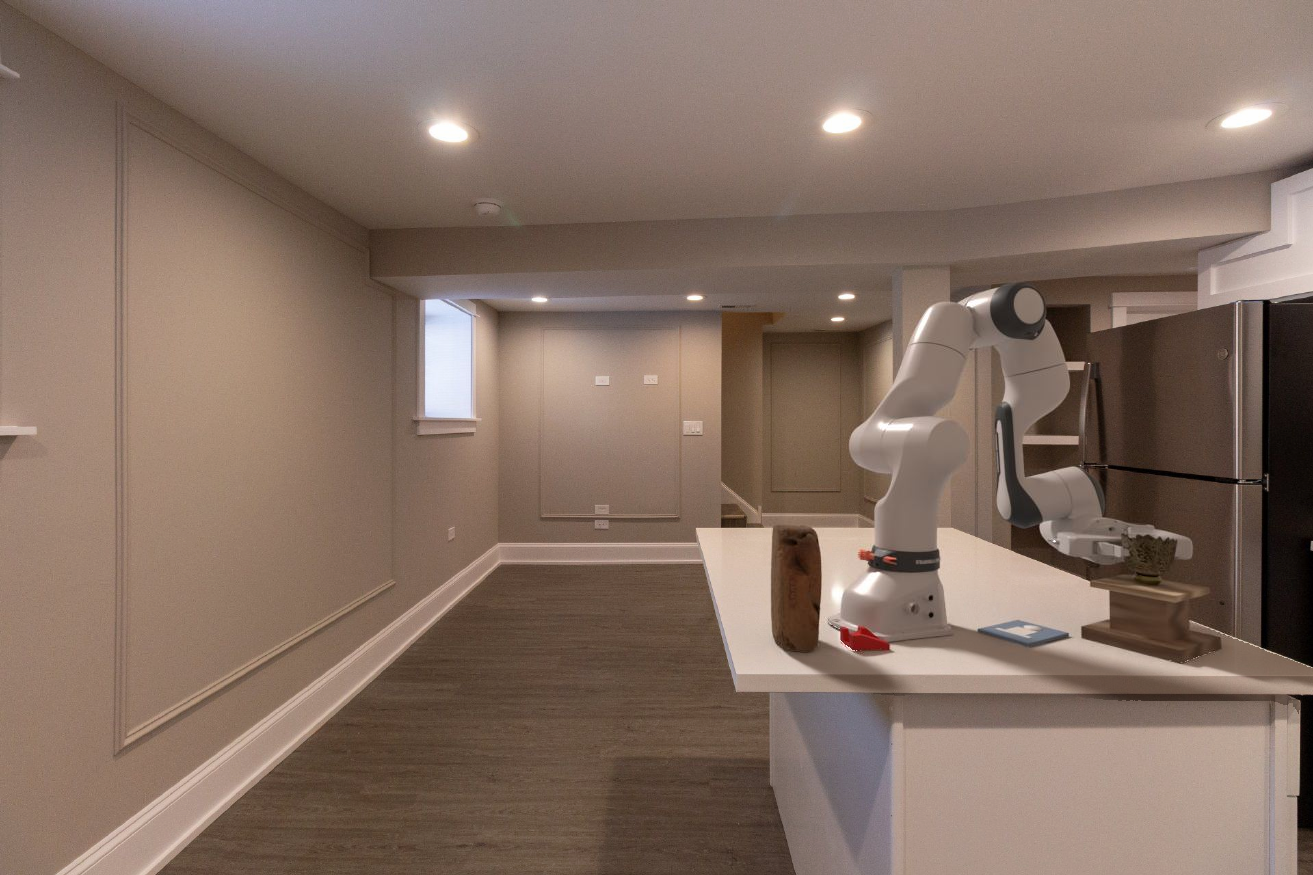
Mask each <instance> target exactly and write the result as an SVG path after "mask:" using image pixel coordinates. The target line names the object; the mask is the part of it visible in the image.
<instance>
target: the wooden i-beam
mask: <svg viewBox="0 0 1313 875" xmlns="http://www.w3.org/2000/svg"><path fill="white" fill-rule="evenodd" d="M1161 580H1162V581H1161V583H1160V584H1158V585H1149V584H1143V583H1139V582H1137V581H1135V579H1134V574H1128V573H1124V574H1119V575H1114V576H1110V577H1109V576H1108V577H1104V578H1098V579H1093V580H1090V581H1089V587H1090V588H1094V589H1100V590H1105V591H1109V593H1108V594H1109V602H1108V603H1109V604H1108V606H1109V618H1108V619H1105V620H1101V621H1097V622H1092V623H1089V624H1086V625H1081V626H1080V635H1081V636H1080V639H1083V640H1089V641H1092V642H1096V643H1100V644H1104V645H1107V646H1111V647H1115V648H1119V649H1123V650H1128V651H1130V652H1135V653H1139V654H1142V655H1146V656H1149V657H1153V658H1157V659H1161V658H1162V660H1164V661H1165V660H1166V661H1169V660H1171V661H1170V662H1173V661H1174V662H1173V663H1176V662H1179V663H1178V664H1180V663H1181V662H1184V663H1186V662H1185V661H1187V660H1190V661H1192V660H1194V659H1193V658H1195V659H1197V658H1196V657H1198V656H1201V657H1203V656H1202V655H1204V654H1206V655H1209V654H1210V653H1209V652H1212V653H1214V651H1215V652H1217V651H1220V650H1222V637H1221V636H1218V635H1214V634H1209V633H1205V632H1201V631H1195V630H1191V628H1190V600H1191V599H1194V598H1199V597H1202V596H1206V595H1210V594H1211V588H1210V586H1209V587H1208V586H1203V585H1202V586H1201V585H1197V584H1190V583H1183V582H1176V581H1170V580H1165V579H1161ZM1219 649H1220V650H1219ZM1208 653H1209V654H1208ZM1204 656H1205V655H1204ZM1198 658H1199V657H1198ZM1191 659H1192V660H1191ZM1187 662H1188V661H1187ZM1181 664H1182V663H1181Z"/></svg>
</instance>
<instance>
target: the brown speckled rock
mask: <svg viewBox="0 0 1313 875" xmlns="http://www.w3.org/2000/svg"><path fill="white" fill-rule="evenodd" d="M771 533H772V534H771V536H772V537H771V555H770V556H771V561H770V567H771V568H770V619H771V620H770V621H771V634H772V638H773V640H774V642H775V643H776V644H777V643H778V645H779V644H780V646H781V647H782V648H784V649H785V650H787V649H788V651H792V652H798V653H799V652H800V653H805V652H806V653H807V652H808V653H809V652H812V651H814V650H816V649H817V647H818V645H819V641H820V640H819V638H820V637H819V636H820V618H821V617H820V615H821V603H822V601H821V600H822V577H823V575H822V556H821V549H820V548H821V547H820V542H819V536H818V534H817V531H816V530H815V529H814V528H812V527H811V526H808V525H796V524H795V525H791V524H774V525H773V527H772V531H771Z"/></svg>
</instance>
